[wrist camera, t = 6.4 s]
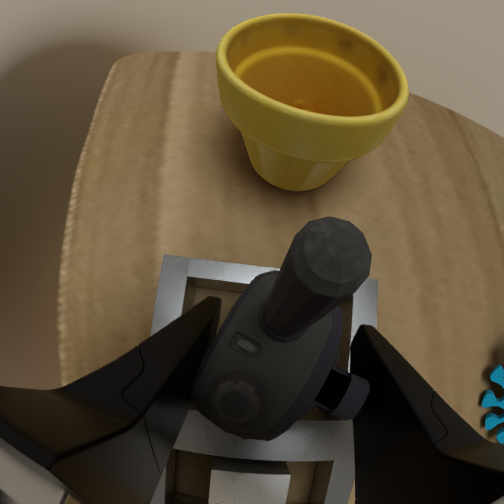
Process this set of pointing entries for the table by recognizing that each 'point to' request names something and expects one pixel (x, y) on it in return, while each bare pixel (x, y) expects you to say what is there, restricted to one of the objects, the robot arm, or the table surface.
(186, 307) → the grey charging dock
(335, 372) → the two-way radio
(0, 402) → the robot arm
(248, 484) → the steel block
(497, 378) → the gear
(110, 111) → the table surface
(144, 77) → the table surface
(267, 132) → the plant pot
